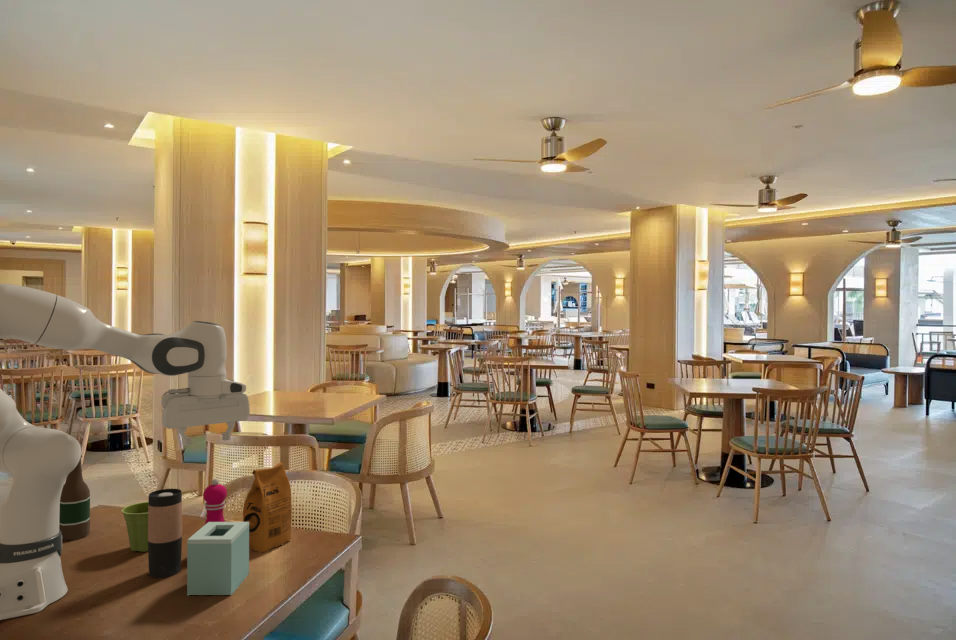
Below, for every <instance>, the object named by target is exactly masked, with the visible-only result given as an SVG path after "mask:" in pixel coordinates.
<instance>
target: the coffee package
mask: <svg viewBox="0 0 956 640" xmlns="http://www.w3.org/2000/svg"><path fill="white" fill-rule="evenodd" d="M251 474H252V475H253V476H254V480H253V482H252V484H251V488H250V490H249V491H248V493H247V495H246V497H245V500H244V504H243V509H242V522H249V550H251V551H255V552H257V553H258V552H259V553H265V552H266V553H267V551H269V550H271V549H273V548H277V547H276V546H279V547H281V546H280V545H282V544H283V545H285V544H286V543H287V542H289V541H291V540H290V539H292V517H293V516H292V515H293V514H292V513H293V512H292V510H293V509H292V507H293V506H292V490H291V489H292V488H291V482H290V480H289V477H288V475H287V472H286V469H285V466H284V464H283V463H282V462H278V463H276V465H275V466H273V467H272V468H271V467H270V468H264V469H262V468H261V469H259V468H258V469H253V470H252V472H251ZM285 542H286V543H285ZM284 543H285V544H284ZM283 545H282V546H283Z"/></svg>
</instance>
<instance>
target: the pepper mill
mask: <svg viewBox="0 0 956 640" xmlns="http://www.w3.org/2000/svg"><path fill="white" fill-rule="evenodd" d="M227 496H228V491H227V488H226V487H225V486H224V484H223V485H222V484H220V483H219V479H217V478H213V479H212V480H211V484H210V485H208V486H206V487H205V489H204V490H203V493H202V498H203V500H204V501H205V504H204V509H205V510H206V518H205V519H206V520H205V522H204V525H206V524H207V523H208V522H226V521H225V518H224V508H225V506H226V502H225V500H226V498H227Z"/></svg>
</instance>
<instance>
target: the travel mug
mask: <svg viewBox="0 0 956 640" xmlns="http://www.w3.org/2000/svg"><path fill="white" fill-rule="evenodd" d="M182 495H183V493H182V490H181V489H180V488H163V489H157V490H154V491H151V492H150V493H148V500H147V502H148V551H147V552H148V554H147V555H148V557H147V558H148V559H147V560H148V575H149V577H151V578H152V579H153V578H154V579H162V578H163V579H164V578H167V577H171V576H174V575H177V574H178V573H180V571H181V569H182V550H183V549H182V547H183V546H182V545H183V544H182V543H183V501H182V500H183V497H182Z"/></svg>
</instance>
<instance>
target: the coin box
mask: <svg viewBox="0 0 956 640" xmlns="http://www.w3.org/2000/svg"><path fill="white" fill-rule="evenodd" d="M186 541H187V542H186V543H187V547H186V549H187V550H186V552H187V553H186V555H187V557H186V558H187V561H186V562H187V563H186V564H187V565H186V566H187V573H186V574H187V575H186V578H187V579H186V584H187V585H186V587H187V588H186V589H187V591H186V596H188V597H190V596H189V595H231V596H233V594H234V593H235V591H237V589H238V588H239V587H240V585H241V584H242V583H243V581H244V580H245V579H246V578H247V576H248V575H249V574H250V549H249V522H243V521H225V522H208V523H207V524H206V525H205V524H204V525H203V526H201V528H200V529H198V530H196V532H195V533H194V534H192V535H191V536H190V537H188V539H187V540H186Z"/></svg>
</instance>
